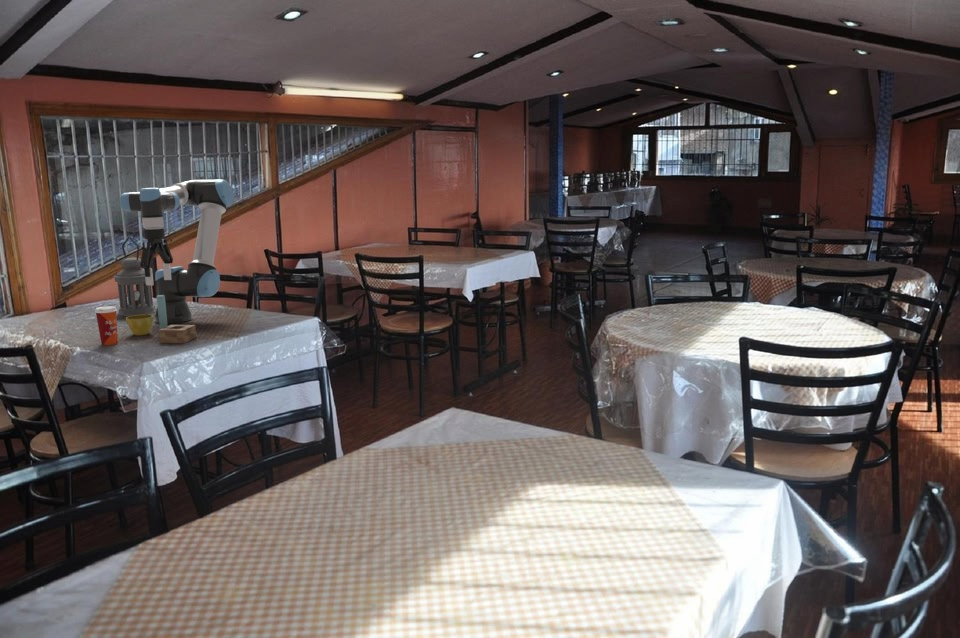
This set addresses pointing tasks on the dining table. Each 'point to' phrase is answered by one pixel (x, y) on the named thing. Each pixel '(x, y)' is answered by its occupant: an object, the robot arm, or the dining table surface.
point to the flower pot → (140, 324)
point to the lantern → (128, 279)
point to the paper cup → (107, 324)
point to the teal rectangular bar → (162, 311)
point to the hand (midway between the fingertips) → (159, 282)
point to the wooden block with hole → (177, 333)
